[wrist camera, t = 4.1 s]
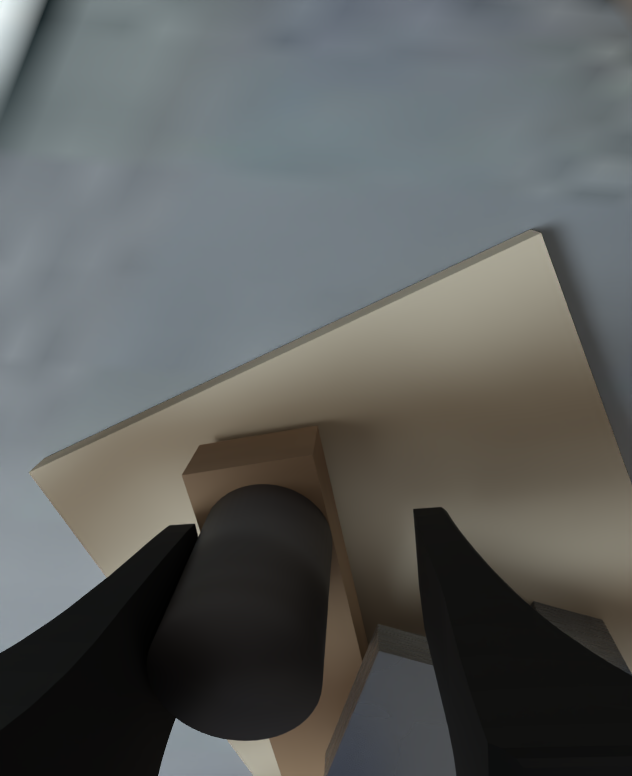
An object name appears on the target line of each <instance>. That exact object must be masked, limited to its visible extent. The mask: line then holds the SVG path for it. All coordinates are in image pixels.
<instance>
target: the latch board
mask: <svg viewBox="0 0 632 776" xmlns="http://www.w3.org/2000/svg"><path fill="white" fill-rule="evenodd" d="M312 426H318V430H319V434H320V438H321V443H322V447H323V451H324V456H325V460H326V464H327V469H328V473H329V477H330V482H331V486H332V490H333V495H334V499H335V503H336V508H337V512H338V516H339V521H340V525H341V529H342V534H343V538H344V542H345V547H346V551H347V555H348V559H349V564H350V568H351V572H352V577H353V581H354V585H355V590H356V594H357V598H358V603H359V607H360V611H361V616H362V620H363V624H364V629H365V633H366V637H367V642H368V646H369V644H370V642H371V639H372V637H373V634H374V632H375V629H376V627H377V624H381V625H384V626H388V627H392V628H395V629H399V630H403V631H407V632H410V633H414V634H418V635H421V636H425V637H426V633H425V629H424V622H423V614H422V606H421V598H420V591H419V581H418V567H417V554H416V541H415V527H414V514H413V509H418V508H433V507H442V508H444V509H445V510H446V511H447V512H448V514H449V516H450V517H451V519H452V520H453V522H454V523H455V524H456V526H457V527H458V529H459V530H460V531H461V533H462V534H463V535H464V536H465V538H466V539H467V540H468V542H469V543H470V544H471V545H472V546H473V548H474V549H475V550H476V551H477V552H478V553H479V555H480V556H481V557H482V558H483V559H484V560H485V561H486V562H487V564H488V565H489V566H490V567H491V568H492V569H493V570H494V571H495V572H496V573H497V574H498V575H499V576H500V578H501V579H503V580H504V581H505V582H506V583H507V584H508V585H509V586H510V587H511V588H512V589H513V590H514V591H515V592H516V593H517V594H518V595H519V596H520V597H521V598H522V599H523V600H524V601H526V602H527V603H528V604H529V605H530V606H531V604H532V602H533V601H535V602H539V603H543V604H546V605H550V606H554V607H557V608H561V609H565V610H568V611H572V612H576V613H579V614H583V615H587V616H590V617H594V618H598V619H601V620H603V622H604V623H605V625H606V627H607V629H608V631H609V633H610V635H611V636H612V638H613V640H614V642H615V644H616V646H617V647H618V649H619V651H620V653H621V655H622V657H623V659H624V660H625V662H626V664H627V666H628V668H629V670H630V671H631V673H632V484H631V481H630V478H629V475H628V472H627V470H626V467H625V464H624V461H623V459H622V456H621V453H620V450H619V447H618V445H617V442H616V439H615V436H614V434H613V431H612V428H611V425H610V423H609V420H608V417H607V414H606V411H605V409H604V406H603V403H602V400H601V398H600V395H599V392H598V389H597V387H596V384H595V381H594V378H593V375H592V373H591V370H590V367H589V364H588V362H587V359H586V356H585V353H584V351H583V348H582V345H581V342H580V339H579V337H578V334H577V331H576V328H575V326H574V323H573V320H572V317H571V314H570V312H569V309H568V306H567V303H566V301H565V298H564V295H563V292H562V290H561V287H560V284H559V281H558V278H557V276H556V273H555V270H554V267H553V265H552V262H551V259H550V256H549V254H548V251H547V248H546V245H545V242H544V240H543V237H542V234H541V233H540V232H537V231H534V230H531V229H530V230H528V231H526V232H524V233H522V234H520V235H517V236H515V237H513V238H511V239H509V240H507V241H505V242H503V243H500V244H498V245H496V246H494V247H492V248H490V249H488V250H486V251H483V252H481V253H479V254H477V255H475V256H473V257H471V258H469V259H466V260H464V261H462V262H460V263H458V264H456V265H454V266H452V267H449V268H447V269H445V270H443V271H441V272H439V273H437V274H435V275H432V276H430V277H428V278H426V279H424V280H422V281H420V282H418V283H416V284H413V285H411V286H409V287H407V288H405V289H403V290H401V291H399V292H396V293H394V294H392V295H390V296H388V297H386V298H384V299H382V300H379V301H377V302H375V303H373V304H371V305H369V306H367V307H365V308H362V309H360V310H358V311H356V312H354V313H352V314H350V315H348V316H345V317H343V318H341V319H339V320H337V321H335V322H333V323H331V324H328V325H326V326H324V327H322V328H320V329H318V330H316V331H314V332H311V333H309V334H307V335H305V336H303V337H301V338H299V339H297V340H294V341H292V342H290V343H288V344H286V345H284V346H282V347H280V348H277V349H275V350H273V351H271V352H269V353H267V354H265V355H263V356H260V357H258V358H256V359H254V360H252V361H250V362H248V363H246V364H244V365H241V366H239V367H237V368H235V369H233V370H231V371H229V372H227V373H224V374H222V375H220V376H218V377H216V378H214V379H212V380H210V381H207V382H205V383H203V384H201V385H199V386H197V387H195V388H193V389H190V390H188V391H186V392H184V393H182V394H180V395H178V396H176V397H173V398H171V399H169V400H167V401H165V402H163V403H161V404H159V405H156V406H154V407H152V408H150V409H148V410H146V411H144V412H142V413H139V414H137V415H135V416H133V417H131V418H129V419H127V420H125V421H122V422H120V423H118V424H116V425H114V426H112V427H110V428H108V429H105V430H103V431H101V432H99V433H97V434H95V435H93V436H91V437H88V438H86V439H84V440H82V441H80V442H78V443H76V444H74V445H71V446H69V447H67V448H65V449H63V450H61V451H59V452H57V453H55V454H52V455H50V456H48V457H46V458H44V459H43V460H42V461H41V462H40V463H39V464H37V465H36V466H35V467H34V468H33V469H32V470H31V471H30V472H29V474H30V475H31V476H32V478H33V479H34V480H35V482H36V483H37V484H38V486H39V487H40V488H41V490H42V491H43V492H44V494H45V495H46V496H47V498H48V499H49V501H50V502H51V503H52V505H53V506H54V507H55V509H56V510H57V511H58V513H59V514H60V515H61V517H62V518H63V519H64V521H65V522H66V523H67V525H68V526H69V527H70V529H71V530H72V532H73V533H74V534H75V536H76V537H77V538H78V540H79V541H80V542H81V544H82V545H83V546H84V548H85V549H86V550H87V552H88V553H89V554H90V556H91V557H92V559H93V560H94V561H95V563H96V564H97V565H98V567H99V568H100V569H101V571H102V572H103V573H104V575H105V576H106V577H108V576H110V575H111V574H112V573H113V572H114V571H115V570H117V569H118V568H119V567H120V566H121V565H122V564H124V563H125V562H126V561H127V560H128V559H129V558H131V557H132V556H133V555H134V554H135V553H136V552H138V551H139V550H140V549H141V548H142V547H143V546H144V545H146V544H147V543H148V542H149V541H150V540H151V539H153V538H154V537H155V536H156V535H157V534H159V533H160V532H161V531H162V530H164V529H165V528H166V527H168V526H169V525H180V524H195V525H196V529H197V534H198V536H199V534H200V529H199V526H198V523H197V520H196V517H195V514H194V511H193V508H192V505H191V502H190V499H189V496H188V493H187V490H186V487H185V484H184V481H183V478H182V474H183V472H184V470H185V469H186V467H187V465H188V464H189V462H190V460H191V458H192V457H193V455H194V453H195V452H196V450H197V448H198V446H199V445H203V444H209V443H215V442H221V441H227V440H233V439H239V438H245V437H251V436H257V435H263V434H269V433H276V432H282V431H288V430H294V429H300V428H306V427H312ZM227 741H228V742H229V743H230V745H231V746H232V747H233V749H234V750H235V751H236V753H237V754H238V755H239V757H240V758H241V759H242V761H243V762H244V764H245V765H246V766H247V768H248V769H249V770H250V772H251V773H252V774H253V776H281V773H280V770H279V767H278V764H277V761H276V758H275V755H274V752H273V749H272V746H271V743H270V740H269V739H263V740H256V741H236V740H228V739H227Z"/></svg>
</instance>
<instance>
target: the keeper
mask: <svg viewBox="0 0 632 776" xmlns="http://www.w3.org/2000/svg"><path fill="white" fill-rule="evenodd" d="M531 607H532V608H534V609H535V610H536V611H537V612H538V613H540V614H541V615H542V616H543V617H544V618H546V619H547V620H548V621H549V622H551V623H552V624H553V625H555V626H556V627H557V628H558V629H560V630H561V631H562V632H564V633H565V634H567V635H568V636H570V637H571V638H573V639H574V640H576V641H577V642H579V643H580V644H581V645H583V646H584V647H586V648H587V649H589V650H590V651H592V652H593V653H595V654H596V655H598V656H600V657H601V658H603V659H604V660H606V661H607V662H609V663H611V664H612V665H614V666H616V667H618V668H619V669H621V670H623V671H625V672H626V673H628V674H630V675H631V676H632V673H631V671H630V670H629V668H628V666H627V664H626V662H625V660H624V659H623V657H622V655H621V653H620V651H619V649H618V647H617V646H616V644H615V642H614V640H613V638H612V636H611V635H610V633H609V631H608V629H607V627H606V625H605V623H604V622H603V620H601V619H598V618H594V617H590V616H587V615H583V614H579V613H576V612H572V611H568V610H565V609H561V608H557V607H554V606H550V605H546V604H543V603H539V602H535V601H533V602H532V604H531ZM324 776H456V769H455V762H454V756H453V750H452V745H451V740H450V735H449V730H448V725H447V721H446V717H445V713H444V709H443V705H442V700H441V696H440V692H439V688H438V684H437V680H436V675H435V671H434V667H433V663H432V659H431V655H430V650H429V646H428V642H427V638H426V637H425V636H421V635H418V634H414V633H410V632H407V631H403V630H399V629H395V628H392V627H388V626H384V625H381V624H377V627H376V629H375V632H374V634H373V637H372V639H371V642H370V644H369V647H368V649H367V651H366V654H365V656H364V659H363V661H362V664H361V666H360V669H359V671H358V674H357V676H356V679H355V681H354V683H353V686H352V688H351V691H350V693H349V696H348V698H347V701H346V703H345V706H344V708H343V710H342V713H341V715H340V718H339V720H338V723H337V725H336V728H335V730H334V733H333V735H332V738H331V740H330V742H329V745H328V747H327V750H326V752H325V768H324Z"/></svg>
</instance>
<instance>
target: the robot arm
mask: <svg viewBox="0 0 632 776" xmlns="http://www.w3.org/2000/svg"><path fill="white" fill-rule="evenodd" d="M413 514H414V527H415V541H416V554H417V567H418V581H419V591H420V598H421V606H422V614H423V622H424V629H425V633H426V638H427V642H428V646H429V650H430V655H431V659H432V663H433V667H434V671H435V675H436V680H437V684H438V688H439V692H440V696H441V700H442V705H443V709H444V713H445V717H446V721H447V725H448V730H449V735H450V740H451V745H452V750H453V756H454V762H455V769H456V776H632V676H631V675H630V674H628V673H626V672H625V671H623V670H621V669H619V668H618V667H616V666H614V665H612V664H611V663H609V662H607V661H606V660H604V659H603V658H601V657H600V656H598V655H596V654H595V653H593V652H592V651H590V650H589V649H587V648H586V647H584V646H583V645H581V644H580V643H579V642H577V641H576V640H574V639H573V638H571V637H570V636H568V635H567V634H565V633H564V632H562V631H561V630H560V629H558V628H557V627H556V626H555V625H553V624H552V623H551V622H549V621H548V620H547V619H546V618H544V617H543V616H542V615H541V614H540V613H538V612H537V611H536V610H535V609H534V608H532V607H531V606H530V605H529V604H528V603H527V602H526V601H524V600H523V599H522V598H521V597H520V596H519V595H518V594H517V593H516V592H515V591H514V590H513V589H512V588H511V587H510V586H509V585H508V584H507V583H506V582H505V581H504V580H503V579H501V578H500V576H499V575H498V574H497V573H496V572H495V571H494V570H493V569H492V568H491V567H490V566H489V565H488V564H487V562H486V561H485V560H484V559H483V558H482V557H481V556H480V555H479V553H478V552H477V551H476V550H475V549H474V548H473V546H472V545H471V544H470V543H469V542H468V540H467V539H466V538H465V536H464V535H463V534H462V533H461V531H460V530H459V529H458V527H457V526H456V524H455V523H454V522H453V520H452V519H451V517H450V516H449V514H448V512H447V511H446V510H445V509H444V508H442V507H433V508H418V509H413ZM197 539H198V534H197V529H196V525H195V524H180V525H169V526H168V527H166V528H165V529H164V530H162V531H161V532H160V533H159V534H157V535H156V536H155V537H154V538H153V539H151V540H150V541H149V542H148V543H147V544H146V545H144V546H143V547H142V548H141V549H140V550H139V551H138V552H136V553H135V554H134V555H133V556H132V557H131V558H129V559H128V560H127V561H126V562H125V563H124V564H122V565H121V566H120V567H119V568H118V569H117V570H115V571H114V572H113V573H112V574H111V575H110V576H108V577H107V578H106V579H105V580H104V581H102V582H101V583H100V584H98V585H97V586H96V587H95V588H93V589H92V590H91V591H90V592H88V593H87V594H86V595H84V596H83V597H82V598H81V599H79V600H78V601H77V602H76V603H74V604H73V605H72V606H70V607H69V608H68V609H67V610H65V611H64V612H62V613H61V614H60V615H58V616H57V617H55V618H54V619H53V620H51V621H50V622H48V623H47V624H45V625H44V626H42V627H41V628H39V629H38V630H36V631H35V632H33V633H32V634H30V635H29V636H27V637H26V638H24V639H23V640H21V641H20V642H18V643H17V644H15V645H13V646H12V647H10V648H8V649H6V650H5V651H3V652H1V653H0V776H158V774H159V770H160V766H161V761H162V758H163V755H164V751H165V748H166V745H167V742H168V738H169V735H170V732H171V730H172V727H173V724H174V721H175V718H176V717H174V716H173V715H172V714H171V713H170V712H169V711H168V710H167V709H166V708H165V707H164V706H163V705H162V704H161V703H160V701H159V700H158V698H157V697H156V695H155V694H154V692H153V690H152V688H151V685H150V682H149V679H148V675H147V656H148V651H149V648H150V646H151V643H152V641H153V639H154V636H155V634H156V632H157V630H158V627H159V625H160V623H161V620H162V618H163V616H164V614H165V611H166V609H167V607H168V605H169V602H170V600H171V598H172V595H173V593H174V591H175V589H176V586H177V584H178V582H179V580H180V577H181V575H182V573H183V570H184V568H185V566H186V564H187V561H188V559H189V557H190V555H191V552H192V550H193V548H194V545H195V543H196V541H197Z"/></svg>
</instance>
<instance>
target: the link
mask: <svg viewBox="0 0 632 776" xmlns="http://www.w3.org/2000/svg"><path fill="white" fill-rule="evenodd" d="M182 478H183V481H184V484H185V487H186V490H187V493H188V496H189V499H190V502H191V505H192V508H193V511H194V514H195V517H196V520H197V523H198V526H199V529H200V534H199V536H198V539H197V541H196V543H195V545H194V548H193V550H192V552H191V555H190V557H189V559H188V561H187V564H186V566H185V568H184V570H183V573H182V575H181V577H180V580H179V582H178V584H177V586H176V589H175V591H174V593H173V595H172V598H171V600H170V602H169V605H168V607H167V609H166V611H165V614H164V616H163V618H162V620H161V623H160V625H159V627H158V630H157V632H156V634H155V636H154V639H153V641H152V643H151V646H150V648H149V651H148V656H147V675H148V679H149V682H150V685H151V688H152V690H153V692H154V694H155V695H156V697H157V698H158V700H159V701H160V703H161V704H162V705H163V706H164V707H165V708H166V709H167V710H168V711H169V712H170V713H171V714H172V715H173V716H174V717H176V718H177V719H178V720H180V721H181V722H183V723H184V724H186V725H188V726H190V727H191V728H193V729H195V730H198V731H200V732H202V733H205V734H208V735H211V736H214V737H218V738H222V739H228V740H236V741H256V740H263V739H269V740H270V743H271V746H272V749H273V752H274V755H275V758H276V761H277V764H278V767H279V770H280V773H281V776H324V768H325V752H326V750H327V747H328V745H329V742H330V740H331V738H332V735H333V733H334V730H335V728H336V725H337V723H338V720H339V718H340V715H341V713H342V710H343V708H344V706H345V703H346V701H347V698H348V696H349V693H350V691H351V688H352V686H353V683H354V681H355V679H356V676H357V674H358V671H359V669H360V666H361V664H362V661H363V659H364V656H365V654H366V651H367V649H368V647H369V646H368V642H367V637H366V633H365V629H364V624H363V620H362V616H361V611H360V607H359V603H358V598H357V594H356V590H355V585H354V581H353V577H352V572H351V568H350V564H349V559H348V555H347V551H346V547H345V542H344V538H343V534H342V529H341V525H340V521H339V516H338V512H337V508H336V503H335V499H334V495H333V490H332V486H331V482H330V477H329V473H328V469H327V464H326V460H325V456H324V451H323V447H322V443H321V438H320V434H319V430H318V426H312V427H306V428H300V429H294V430H288V431H282V432H276V433H269V434H263V435H257V436H251V437H245V438H239V439H233V440H227V441H221V442H215V443H209V444H203V445H199V446H198V448H197V450H196V452H195V453H194V455H193V457H192V458H191V460H190V462H189V464H188V465H187V467H186V469H185V470H184V472H183V474H182Z"/></svg>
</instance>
